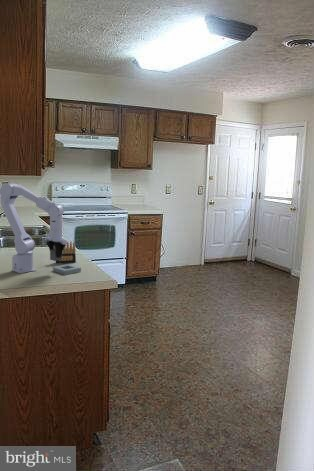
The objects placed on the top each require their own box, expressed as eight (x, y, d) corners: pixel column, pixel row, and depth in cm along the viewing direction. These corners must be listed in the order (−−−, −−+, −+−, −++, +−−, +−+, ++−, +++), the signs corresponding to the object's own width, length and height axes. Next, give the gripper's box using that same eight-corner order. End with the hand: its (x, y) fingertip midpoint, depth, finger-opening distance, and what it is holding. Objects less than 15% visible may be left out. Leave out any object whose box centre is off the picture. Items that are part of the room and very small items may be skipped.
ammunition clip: (75, 261, 231) (75, 240, 229) (75, 262, 229) (76, 241, 227) (55, 262, 226) (55, 241, 225) (56, 263, 225) (56, 241, 223)
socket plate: (64, 274, 202) (64, 270, 202) (52, 270, 209) (52, 266, 208) (80, 271, 210) (81, 267, 209) (69, 267, 216) (69, 264, 216)
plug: (54, 260, 200) (54, 246, 199) (50, 259, 203) (50, 245, 202) (61, 259, 203) (61, 245, 202) (56, 258, 206) (56, 244, 205)
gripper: (40, 228, 202) (40, 255, 204) (58, 231, 193) (58, 260, 195) (52, 227, 208) (52, 253, 210) (70, 230, 198) (70, 258, 200)
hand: (56, 256), depth 203 cm, fingers closed on plug, 4 cm apart
